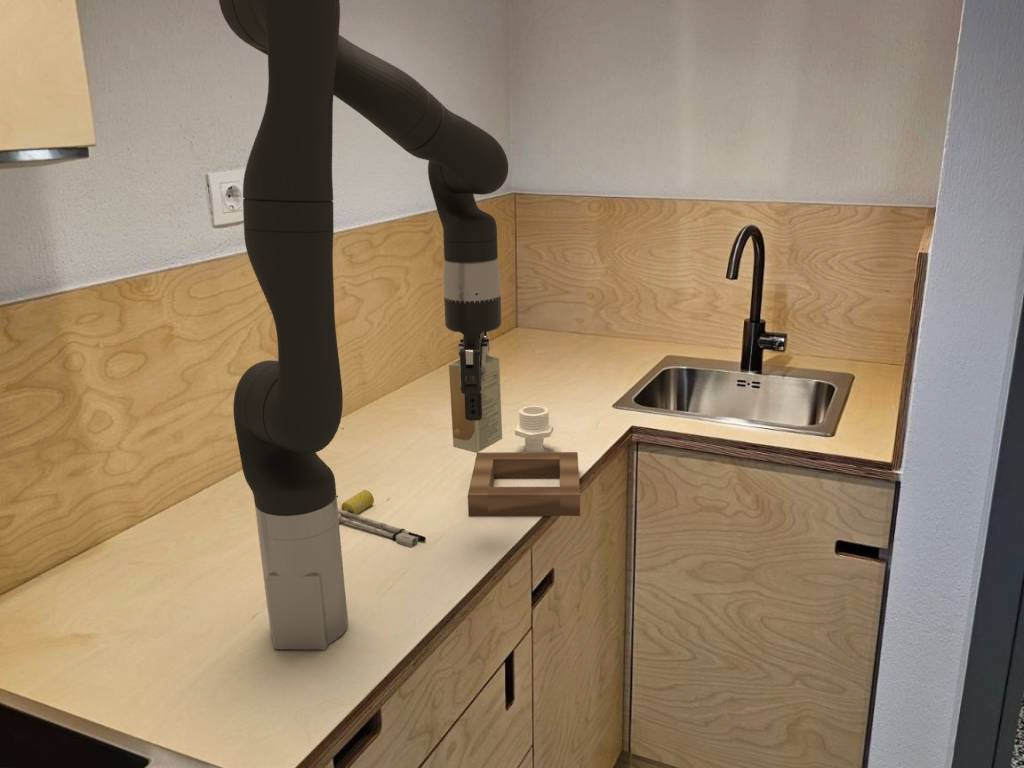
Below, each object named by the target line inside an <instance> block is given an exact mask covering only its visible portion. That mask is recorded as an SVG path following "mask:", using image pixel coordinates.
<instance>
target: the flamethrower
mask: <svg viewBox="0 0 1024 768" xmlns="http://www.w3.org/2000/svg"><path fill="white" fill-rule="evenodd" d="M336 495H337V494H336ZM337 498H339V495H337ZM374 501H375V499H374V496H373V494H372V493H371V492H370V490H367V489H364V490H362V491H360V492H358V493H356V494H355V495H353V496H352V497H350V498H348V499H347V500H345V501H343V503H341V506H340V507H341V508H338V517H339V518H338V519H339V523H345V524H348V525H351V526H354V527H357V528H360V529H363V530H366V531H368V532H369V531H370V532H372V533H376V534H379V535H382V536H385V537H387V538H391V539H392V540H393V541H396V542H397V543H398V544H400V545H401V546H402V545H403V546H406V547H409V548H413V547H414V545H418V543H419V541H421V542H425V541H426V539H427V538H426V536H425V535H424V536H423V535H420V534H418V533H413V532H411V531H409V530H406V528H399V527H396V526H393V525H390V524H387V523H383V522H380V521H377V520H374V519H370V518H367V517H364V516H362V515H359V514H360V513H361V512H363V511H364V510H366V509H368V508H369V507H370V506H372V505H373V504H374V503H375V502H374ZM413 544H414V545H413Z"/></svg>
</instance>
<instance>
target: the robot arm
mask: <svg viewBox="0 0 1024 768" xmlns="http://www.w3.org/2000/svg"><path fill="white" fill-rule="evenodd" d="M218 4H219V7H220V11H221V13H222V16H223V18H224V20H225V22H226V23H227V25H228V27H229V28H230V30H231V31H232V32H233V33H234V34H235V36H236V37H238V38H239V39H240V40H242V42H244V43H246V44H247V45H249V46H250V47H252V48H254V49H256V50H258V51H259V52H261V53H263V54H265V56H266V55H267V68H268V71H267V72H268V76H267V77H268V83H267V84H268V85H267V97H266V104H265V108H264V113H263V116H262V118H261V122H260V125H259V129H258V130H257V133H256V136H255V138H254V142H253V144H252V147H251V150H250V153H249V156H248V159H247V161H246V162H247V163H246V166H245V169H244V176H243V182H242V198H243V199H242V209H243V210H242V211H243V212H242V213H243V214H242V215H243V235H244V243H245V248H246V253H247V256H248V260H249V262H250V265H251V268H252V270H253V272H254V274H255V277H256V279H257V281H258V283H259V286H260V289H261V291H262V293H263V295H264V298H265V299H266V302H267V304H268V307H269V309H270V312H271V314H272V318H273V321H274V326H275V330H276V331H275V332H276V339H277V355H278V356H277V357H278V359H277V360H272V359H271V360H263V361H260V362H257V363H255V364H253V365H251V366H250V367H249V368H248V369H247V370H245V372H244V373H243V375H241V377H240V379H239V381H238V383H237V385H236V389H235V391H234V398H233V420H234V421H233V422H234V428H235V434H236V439H237V440H236V441H237V444H238V445H237V446H238V451H239V456H240V462H241V467H242V468H241V469H242V472H243V475H244V479H245V481H246V484H247V485H248V486H249V489H250V490H251V492H252V495H253V501H254V507H255V518H256V525H257V526H256V527H257V533H258V542H259V549H260V550H259V551H260V557H261V558H260V559H261V567H262V576H263V582H264V591H265V592H264V593H265V598H266V607H267V615H268V623H269V624H268V625H269V631H270V633H269V634H270V637H271V639H272V645H273V649H274V650H326V649H327V648H328V646H329V644H331V643H332V642H333V641H335V640H337V639H338V638H340V637H341V636H342V635H343V634H344V633H345V632H346V630H347V628H348V626H349V617H348V608H347V606H348V605H347V596H346V595H347V594H346V585H345V576H344V574H345V573H344V565H343V564H344V563H343V554H342V553H343V551H342V544H341V543H342V542H341V530H340V522H339V519H338V518H339V517H338V509H339V508H338V506H339V505H338V497H337V487H336V479H335V478H336V477H335V474H334V472H333V470H332V469H331V468H330V467H329V465H328V464H327V463H325V462H324V460H322V458H321V457H320V456H319V455H318V454H317V453H318V452H320V451H322V450H323V449H325V448H327V446H329V444H330V443H331V442H332V441H333V440H334V438H335V436H336V434H337V432H338V430H339V427H340V424H341V422H342V421H341V420H342V416H343V408H344V405H343V404H344V403H343V401H344V399H343V398H344V397H343V396H344V395H343V386H342V385H343V383H342V376H341V375H342V374H341V368H340V367H341V366H340V357H339V349H338V338H337V330H336V329H337V328H336V317H335V313H336V312H335V287H334V283H335V282H334V261H333V259H334V256H333V255H334V250H333V249H334V234H335V233H334V228H335V227H334V186H333V138H334V137H333V132H334V131H333V127H334V126H333V121H334V120H333V119H334V117H333V113H334V110H333V109H334V107H333V106H334V97H336V98H337V99H339V100H340V101H341V102H343V103H345V104H346V105H347V106H349V107H350V108H352V109H353V110H354V111H356V112H357V113H358V114H359V115H361V116H362V117H364V118H365V119H366V120H367V121H369V122H370V123H371V124H372V125H374V126H375V127H376V128H377V129H379V130H380V131H381V132H383V134H385V135H386V136H387V137H388V138H390V140H392V141H393V142H395V143H396V144H397V145H398V146H399V147H400V148H402V149H403V150H404V151H406V152H407V153H409V154H410V155H412V156H413V157H415V158H418V159H421V160H425V161H428V162H427V176H428V182H429V186H430V190H431V192H432V197H433V200H434V203H435V207H436V211H437V214H438V217H439V219H440V223H441V226H442V230H443V231H442V232H443V236H442V238H443V256H444V259H443V260H444V262H443V263H444V265H443V281H442V282H443V298H444V299H443V302H444V321H445V322H444V323H445V327H446V329H448V330H449V331H451V332H454V333H461V334H462V335H463V336H462V337H463V338H460V339H459V341H460V343H458V345H457V347H458V348H457V349H458V351H457V352H458V357H459V360H460V375H461V391H462V393H463V394H464V395H465V418H466V419H467V420H481V418H482V391H483V387H482V378H484V377H485V376H486V358H487V356H490V348H491V347H490V345H491V342H490V338H488V333H489V332H492V331H496V330H497V329H499V328H500V327H501V325H502V304H501V303H502V297H501V296H502V295H501V291H502V290H501V272H500V267H499V266H500V265H499V259H498V258H499V257H498V256H499V255H498V251H499V250H498V225H497V222H496V219H495V217H494V216H492V215H491V214H490V213H489V212H486V211H483V210H482V209H480V207H479V206H478V205H477V201H476V199H475V195H480V196H481V195H489V194H493V193H495V192H496V191H498V190H499V189H500V188H501V187H502V186H503V185H504V184H505V182H506V181H507V178H508V174H509V161H508V157H507V154H506V152H505V149H504V148H503V146H502V145H501V143H500V142H498V140H497V139H496V138H495V137H493V135H491V134H489V132H487V131H485V130H484V129H482V128H481V127H479V126H477V125H476V124H474V123H472V122H470V121H469V120H467V119H465V118H464V117H462V116H460V115H459V114H457V113H454V112H453V111H451V110H449V109H448V108H447V107H446V106H445V105H444V104H442V102H441V101H440V100H439V99H438V98H437V97H435V96H434V95H433V94H432V92H430V91H428V89H427V88H425V87H424V86H423V85H422V84H421V83H420V82H418V81H417V80H416V79H415V78H413V77H412V76H411V75H409V73H407V72H405V71H404V70H402V69H401V68H398V66H395V65H393V64H391V63H389V62H388V61H386V60H384V59H382V58H380V57H378V56H377V55H375V54H372V53H370V52H369V51H367V50H364V49H363V48H361V47H359V46H358V45H357V44H354V43H352V42H351V41H349V40H348V39H347V38H346V37H344V36H342V35H340V20H341V3H340V0H218ZM481 365H482V367H481V368H480V366H481ZM468 376H475V377H476V384H467V378H468Z"/></svg>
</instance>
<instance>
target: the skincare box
mask: <svg viewBox="0 0 1024 768" xmlns="http://www.w3.org/2000/svg"><path fill="white" fill-rule="evenodd" d="M481 367H482V365H481V366H480V368H481ZM448 371H449V372H448V373H449V391H450V409H451V426H452V427H451V429H452V444H453V445H452V447H453V448H457V449H460V450H464V451H467V452H472V453H475V454H477V453H481V452H482V451H484V450H486V449H487V448H490V446H492V445H494V444H496V443H497V442H499V441H501V440H503V424H502V423H503V422H502V400H501V397H502V395H501V374H500V371H501V369H500V357H498V356H491V355H489V356H487V358H486V376H485V377H484V378H482V387H483V391H482V418H481V420H467V419H466V418H465V395H464V394H463V393H462V391H461V375H460V359H459V360H456V361H454V362H452V363H449V364H448ZM467 384H476V377H475V376H468V378H467Z"/></svg>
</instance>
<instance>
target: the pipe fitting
mask: <svg viewBox="0 0 1024 768" xmlns="http://www.w3.org/2000/svg"><path fill="white" fill-rule="evenodd" d="M549 415H550V414H549V409H548V408H547V407H544V406H540V405H529V406H525V407H521V409H519V411H518V416H519V419H518V420H519V421H518V422H519V423H518V424H517V426H516V427H515V429H514V435H515V436H517V437H519V438H523V439H524V444H525V445H524V448H525V452H544V449H545V448H544V441H545V438H550V437H551V436H552V434H553V432H554V424H551V423H549V420H550V417H549Z"/></svg>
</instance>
